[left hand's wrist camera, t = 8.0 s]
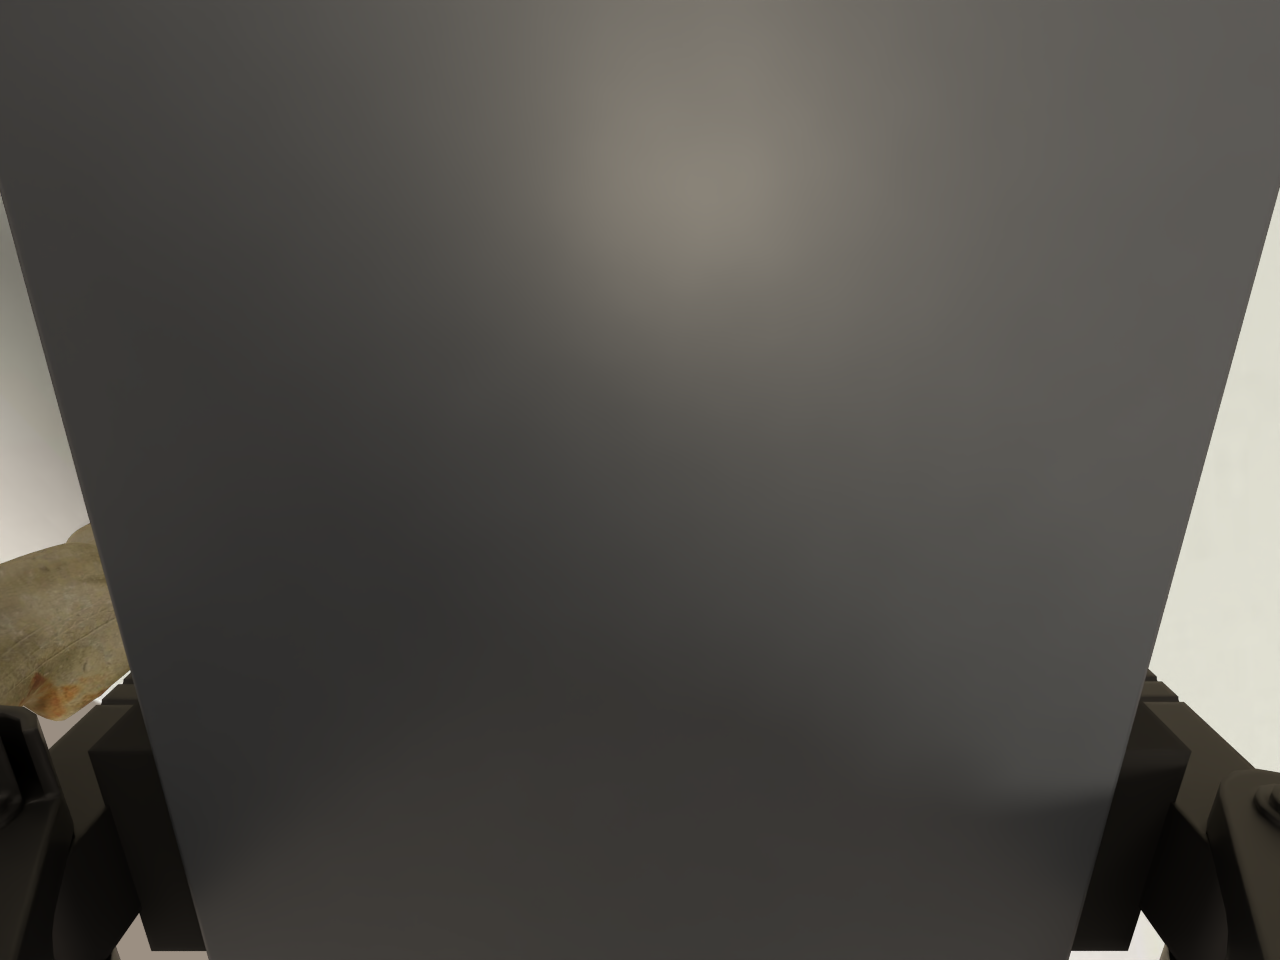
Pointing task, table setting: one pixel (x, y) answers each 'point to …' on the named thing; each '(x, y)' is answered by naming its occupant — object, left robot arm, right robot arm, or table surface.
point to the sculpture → (58, 629)
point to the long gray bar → (639, 446)
